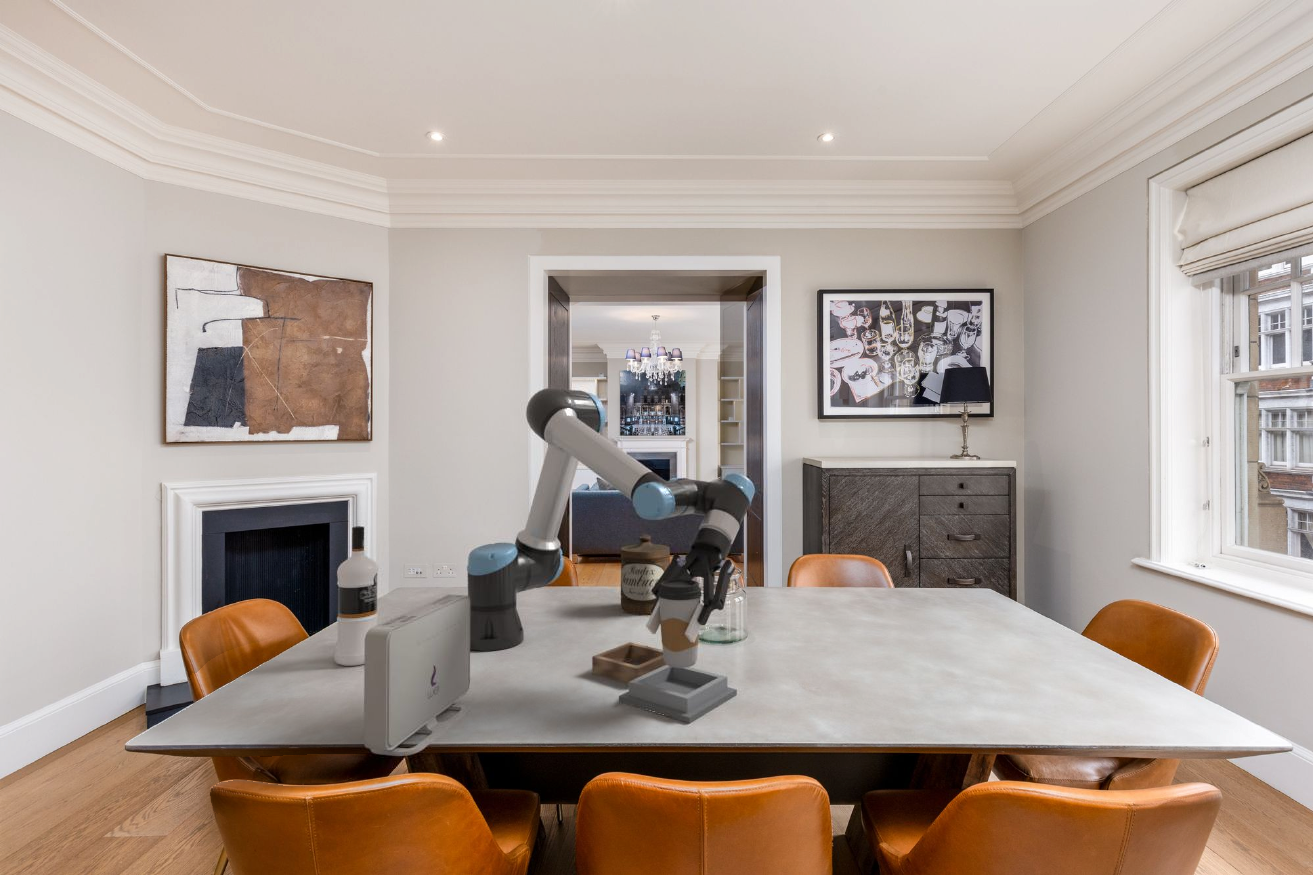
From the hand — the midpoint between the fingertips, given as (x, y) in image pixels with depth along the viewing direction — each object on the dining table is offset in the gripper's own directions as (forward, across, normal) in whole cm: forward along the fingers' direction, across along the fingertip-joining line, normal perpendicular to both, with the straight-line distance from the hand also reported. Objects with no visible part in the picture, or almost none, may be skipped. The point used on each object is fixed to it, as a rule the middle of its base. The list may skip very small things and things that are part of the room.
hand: (669, 633), depth 118 cm
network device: (+33, +27, +15) cm, 45 cm away
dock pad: (+7, 0, -11) cm, 13 cm away
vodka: (+25, +70, +7) cm, 75 cm away
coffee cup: (+2, 0, -7) cm, 7 cm away
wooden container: (-28, +47, -46) cm, 72 cm away
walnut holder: (+3, +16, -16) cm, 23 cm away
